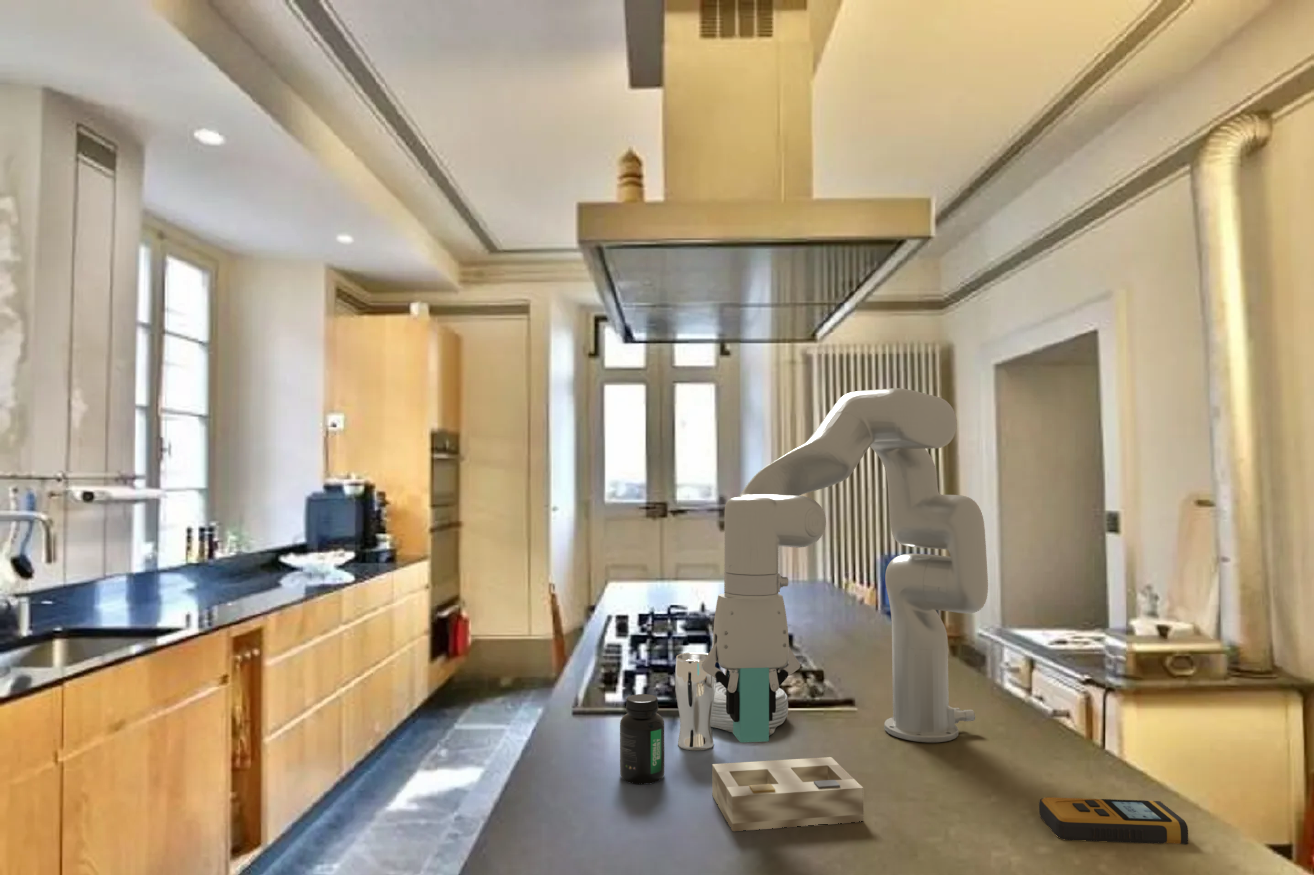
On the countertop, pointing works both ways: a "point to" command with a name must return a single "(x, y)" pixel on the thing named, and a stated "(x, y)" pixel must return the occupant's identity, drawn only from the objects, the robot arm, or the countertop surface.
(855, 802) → the socket block
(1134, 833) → the electronic device
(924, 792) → the countertop surface
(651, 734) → the supplement bottle
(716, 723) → the cable
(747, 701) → the plug
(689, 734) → the beer glass
